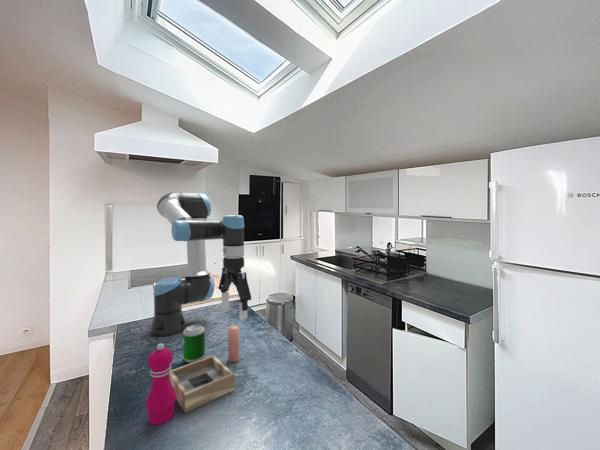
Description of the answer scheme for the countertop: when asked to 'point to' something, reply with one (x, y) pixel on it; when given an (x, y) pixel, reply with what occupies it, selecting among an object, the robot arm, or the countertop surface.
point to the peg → (233, 343)
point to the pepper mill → (160, 386)
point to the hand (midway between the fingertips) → (233, 313)
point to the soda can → (193, 343)
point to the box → (199, 372)
